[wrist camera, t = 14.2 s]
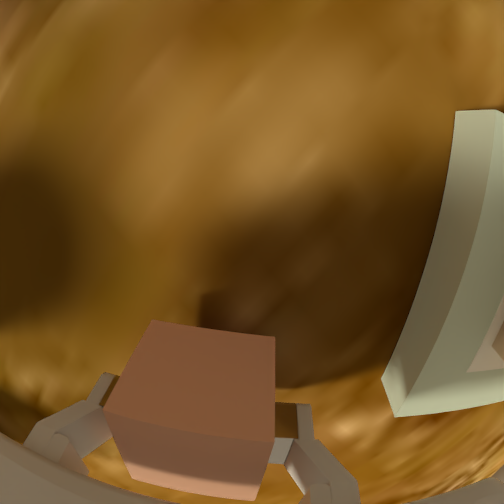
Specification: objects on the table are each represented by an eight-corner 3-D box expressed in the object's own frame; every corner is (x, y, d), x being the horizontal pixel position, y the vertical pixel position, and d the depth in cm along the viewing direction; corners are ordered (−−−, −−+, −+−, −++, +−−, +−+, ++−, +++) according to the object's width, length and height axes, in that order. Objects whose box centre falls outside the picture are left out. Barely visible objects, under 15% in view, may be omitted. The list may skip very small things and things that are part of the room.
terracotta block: (152, 319, 11) (102, 410, 7) (275, 336, 11) (274, 442, 6) (161, 398, 12) (132, 478, 8) (259, 413, 12) (254, 500, 8)
